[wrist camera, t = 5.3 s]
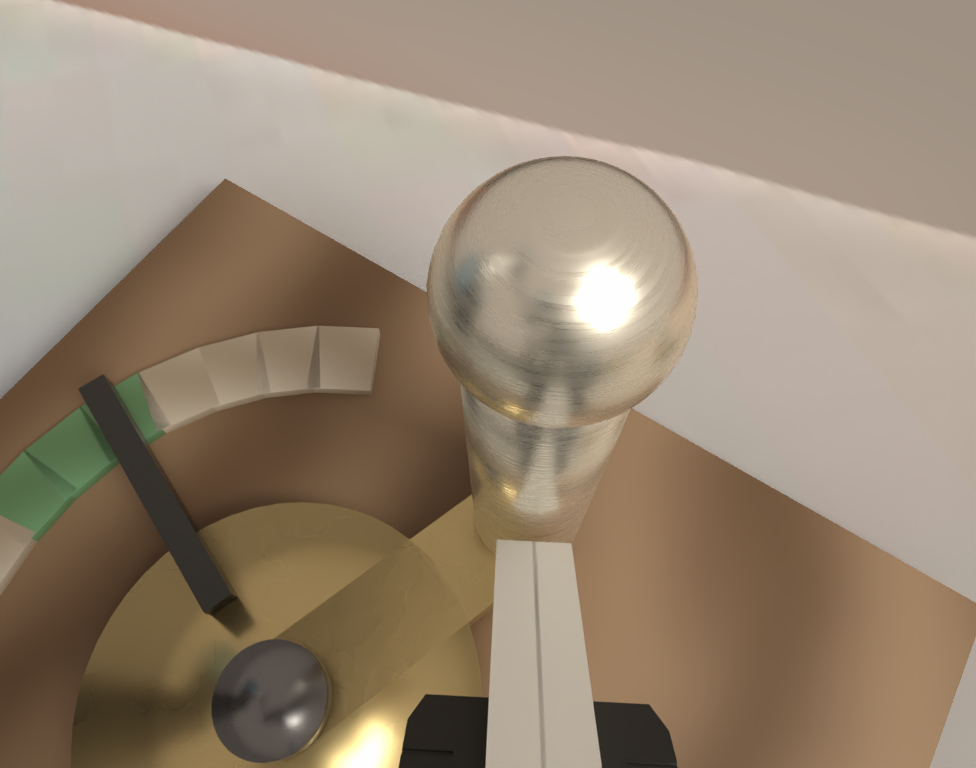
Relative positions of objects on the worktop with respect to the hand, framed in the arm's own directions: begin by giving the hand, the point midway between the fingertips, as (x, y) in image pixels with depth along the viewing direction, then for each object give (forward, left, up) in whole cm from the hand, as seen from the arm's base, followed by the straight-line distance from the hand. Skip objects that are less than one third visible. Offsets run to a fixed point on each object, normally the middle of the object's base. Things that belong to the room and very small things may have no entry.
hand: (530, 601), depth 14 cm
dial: (-4, -2, -4) cm, 6 cm away
